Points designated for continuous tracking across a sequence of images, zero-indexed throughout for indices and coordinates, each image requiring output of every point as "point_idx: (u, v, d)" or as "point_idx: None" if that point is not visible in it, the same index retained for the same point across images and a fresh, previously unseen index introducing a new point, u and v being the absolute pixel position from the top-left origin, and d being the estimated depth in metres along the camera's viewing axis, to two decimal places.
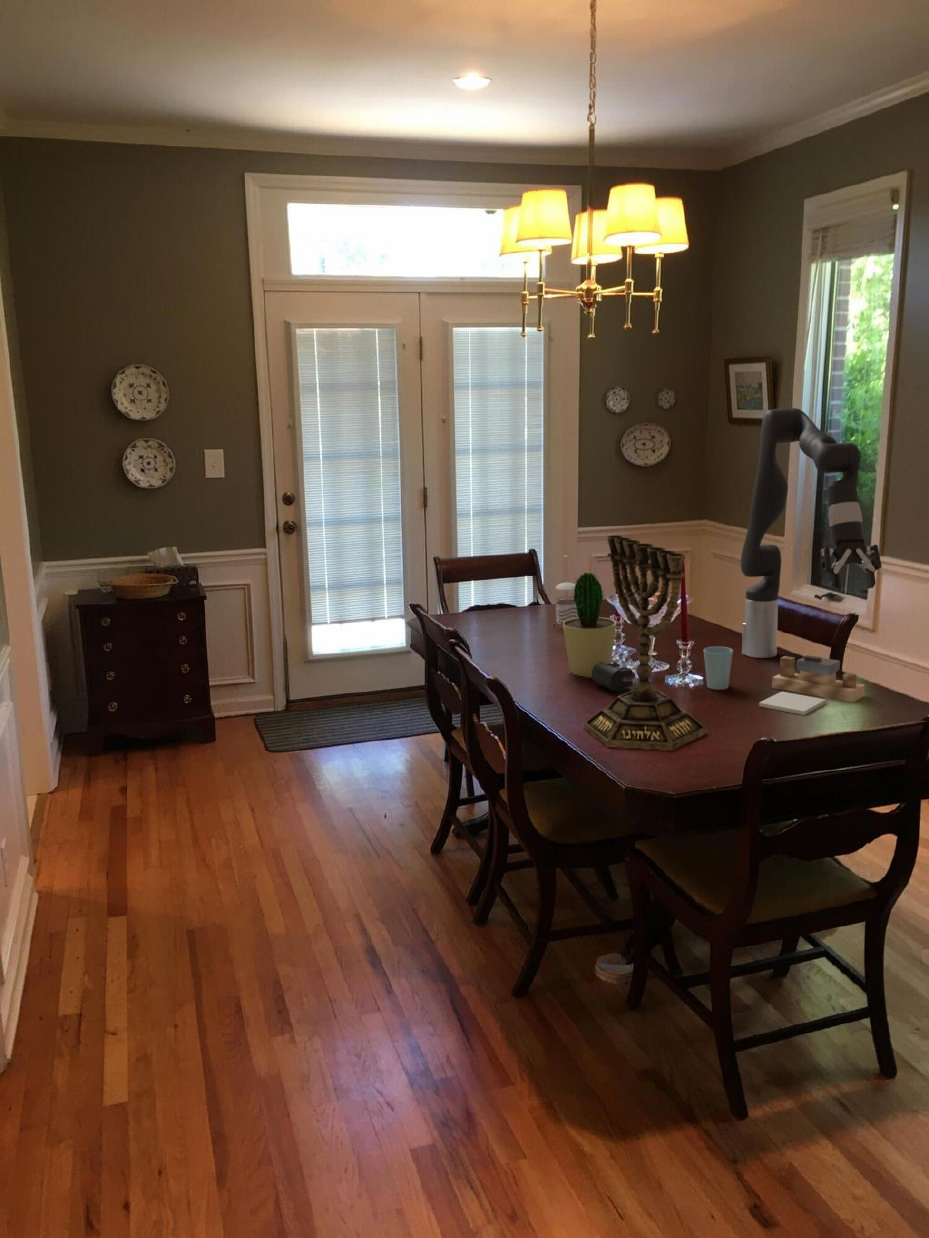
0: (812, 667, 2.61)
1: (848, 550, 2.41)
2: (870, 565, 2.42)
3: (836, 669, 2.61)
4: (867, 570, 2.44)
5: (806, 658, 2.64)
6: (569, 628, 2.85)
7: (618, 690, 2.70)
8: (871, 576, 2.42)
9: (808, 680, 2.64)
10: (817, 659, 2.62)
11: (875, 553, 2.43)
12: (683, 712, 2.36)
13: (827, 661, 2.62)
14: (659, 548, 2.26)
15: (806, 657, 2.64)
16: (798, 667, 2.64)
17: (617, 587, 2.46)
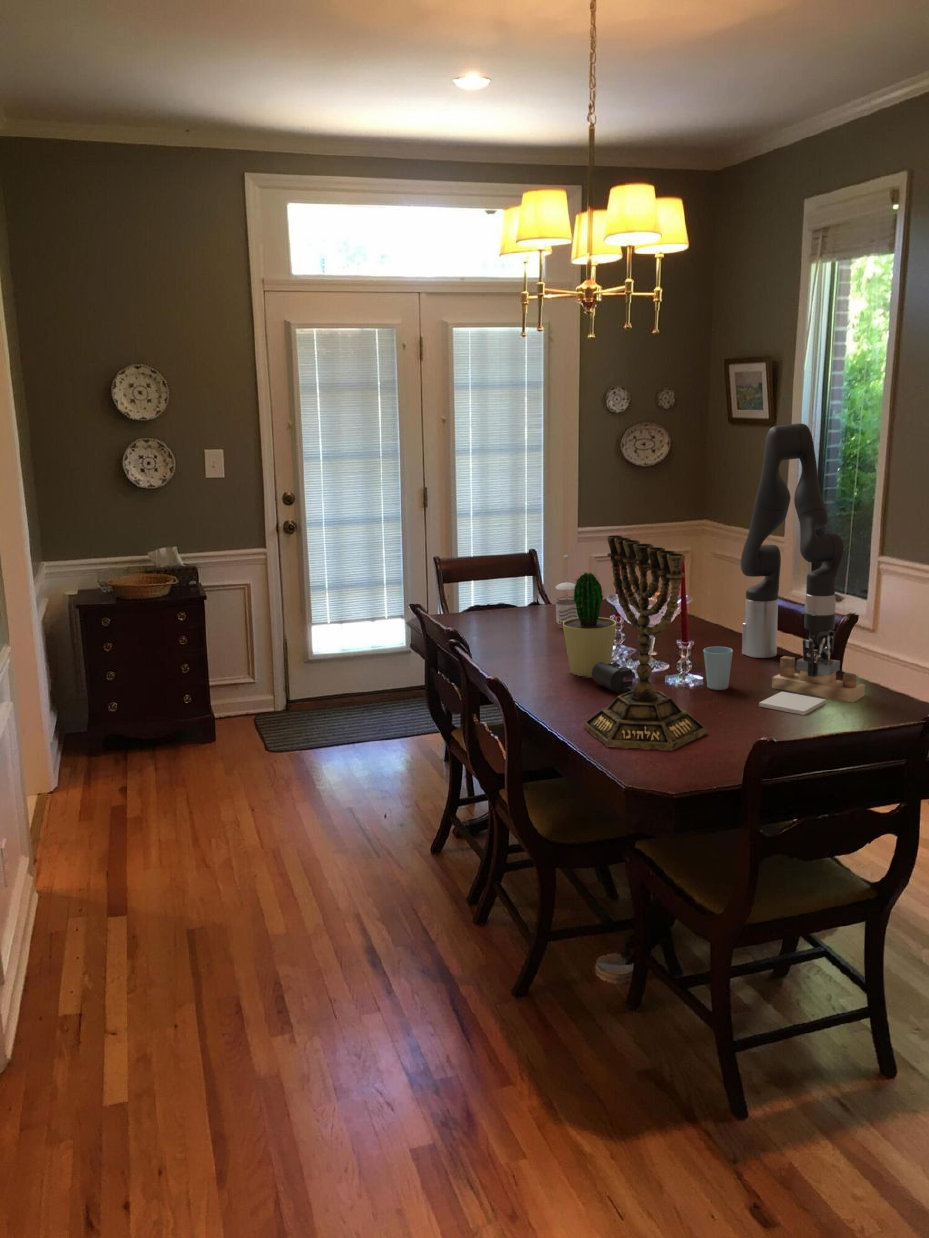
0: None
1: (824, 639, 2.59)
2: (828, 651, 2.64)
3: (836, 669, 2.61)
4: (823, 654, 2.65)
5: None
6: (569, 628, 2.85)
7: (618, 690, 2.70)
8: None
9: (808, 680, 2.64)
10: None
11: (832, 639, 2.65)
12: (683, 712, 2.36)
13: (827, 661, 2.62)
14: (659, 548, 2.26)
15: None
16: (798, 667, 2.64)
17: (617, 587, 2.46)
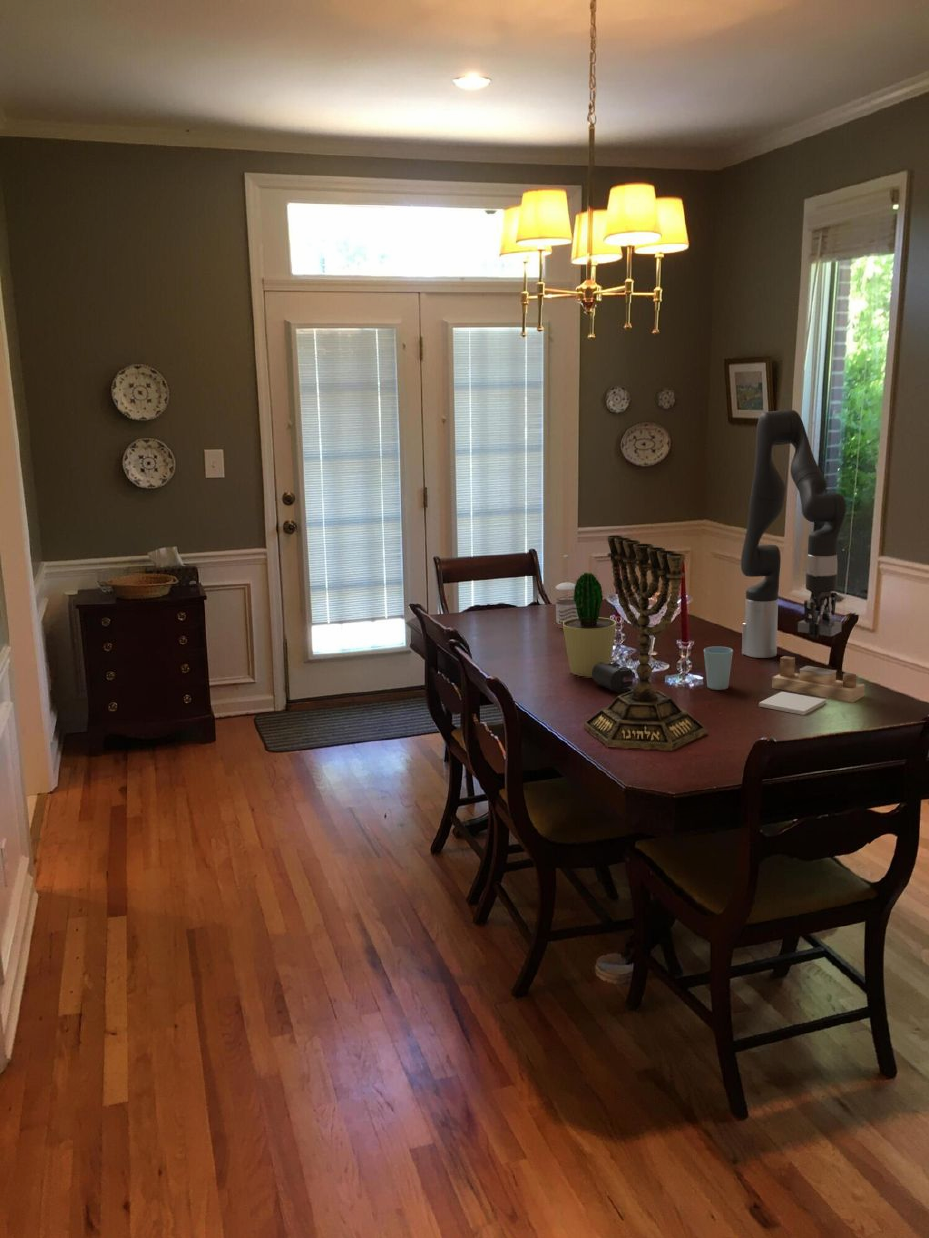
0: None
1: (825, 600, 2.57)
2: (830, 613, 2.62)
3: (838, 631, 2.59)
4: (824, 616, 2.63)
5: None
6: (569, 628, 2.85)
7: (618, 690, 2.70)
8: None
9: (808, 680, 2.64)
10: None
11: (834, 600, 2.63)
12: (683, 712, 2.36)
13: (829, 623, 2.59)
14: (659, 548, 2.26)
15: None
16: (799, 629, 2.62)
17: (617, 587, 2.46)
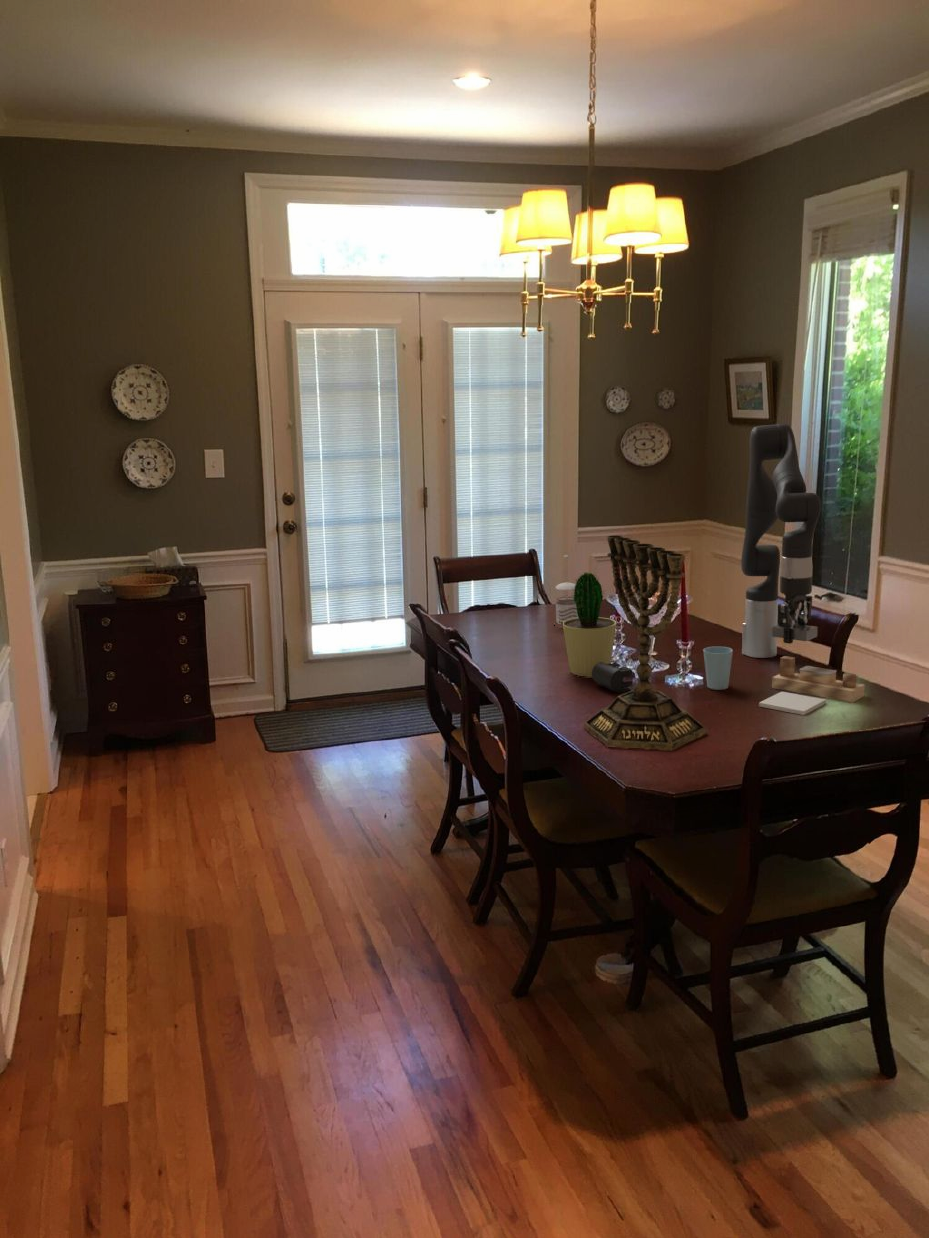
0: None
1: (800, 604, 2.47)
2: (805, 617, 2.52)
3: (813, 635, 2.48)
4: (799, 620, 2.53)
5: None
6: (569, 628, 2.85)
7: (618, 690, 2.70)
8: None
9: (808, 680, 2.64)
10: None
11: (810, 604, 2.52)
12: (683, 712, 2.36)
13: (804, 627, 2.49)
14: (659, 548, 2.26)
15: None
16: (774, 634, 2.51)
17: (617, 587, 2.46)
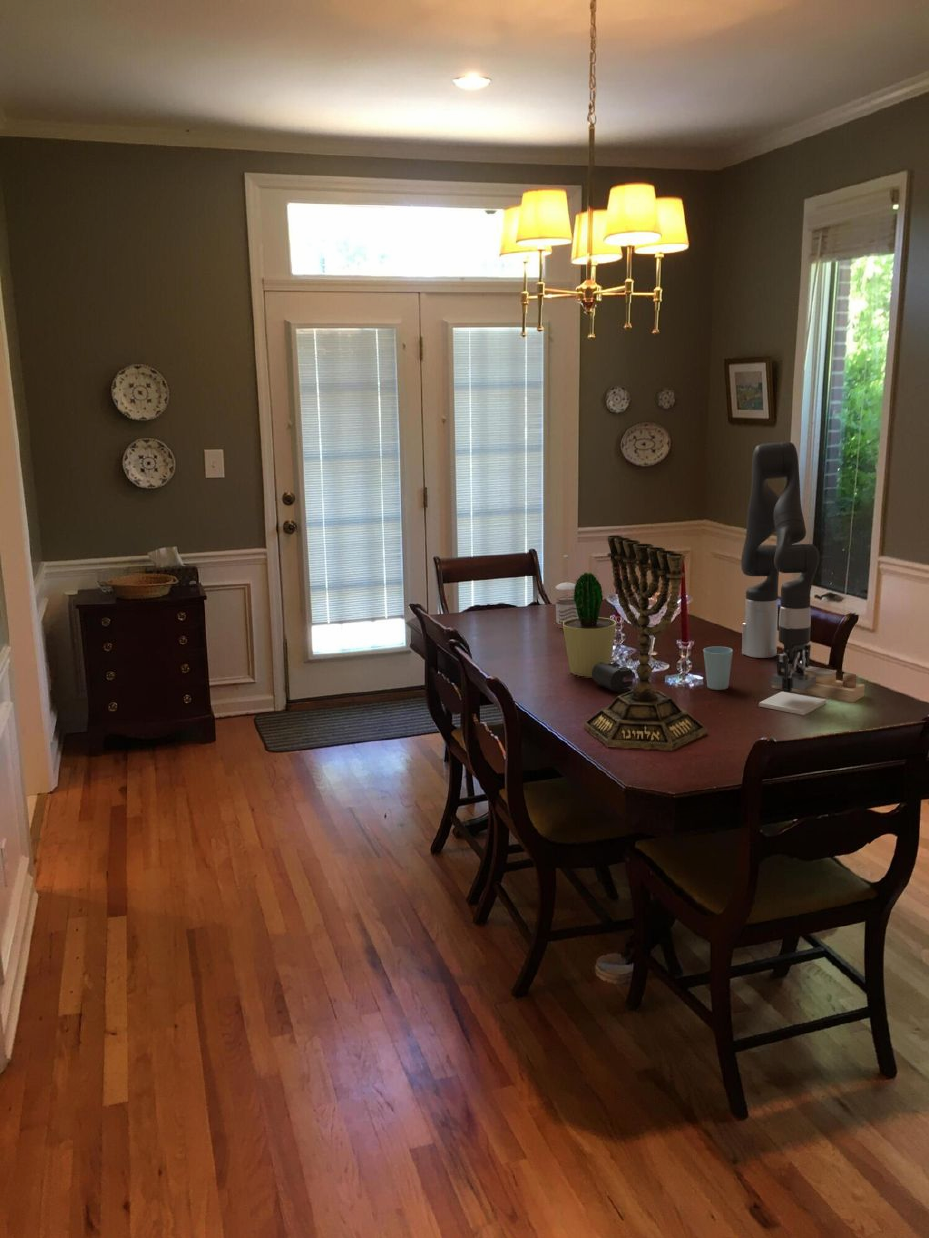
0: None
1: (798, 653, 2.49)
2: (804, 665, 2.54)
3: (812, 684, 2.51)
4: (798, 668, 2.55)
5: None
6: (569, 628, 2.85)
7: (618, 690, 2.70)
8: None
9: None
10: (792, 674, 2.52)
11: (808, 653, 2.55)
12: (683, 712, 2.36)
13: (802, 676, 2.52)
14: (659, 548, 2.26)
15: None
16: (772, 682, 2.54)
17: (617, 587, 2.46)
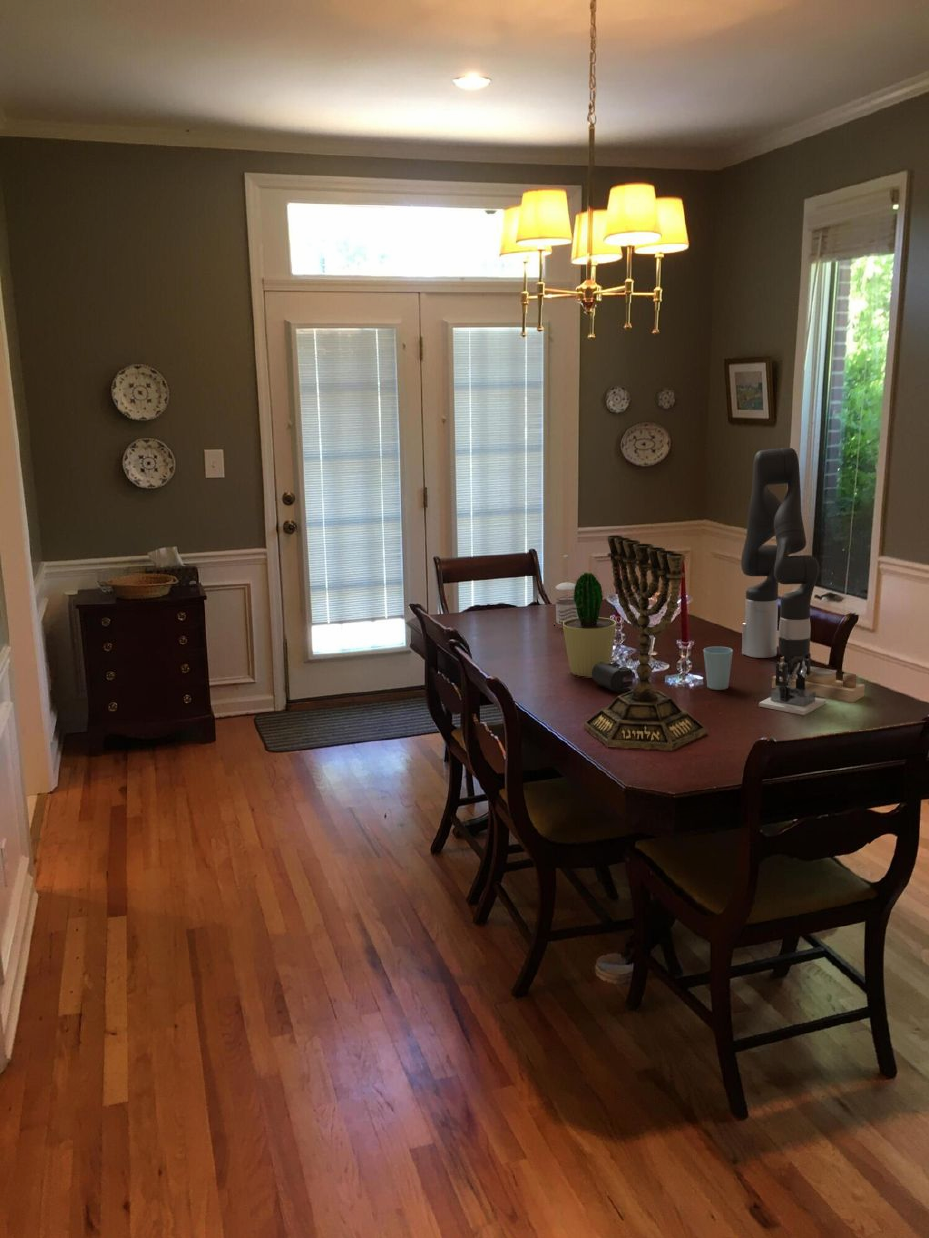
0: None
1: (798, 664, 2.50)
2: (805, 673, 2.55)
3: (811, 700, 2.52)
4: (799, 676, 2.56)
5: None
6: (569, 628, 2.85)
7: (618, 690, 2.70)
8: (804, 684, 2.56)
9: (808, 680, 2.64)
10: (792, 690, 2.53)
11: (808, 661, 2.56)
12: (683, 712, 2.36)
13: (802, 692, 2.53)
14: (659, 548, 2.26)
15: None
16: (772, 698, 2.55)
17: (617, 587, 2.46)
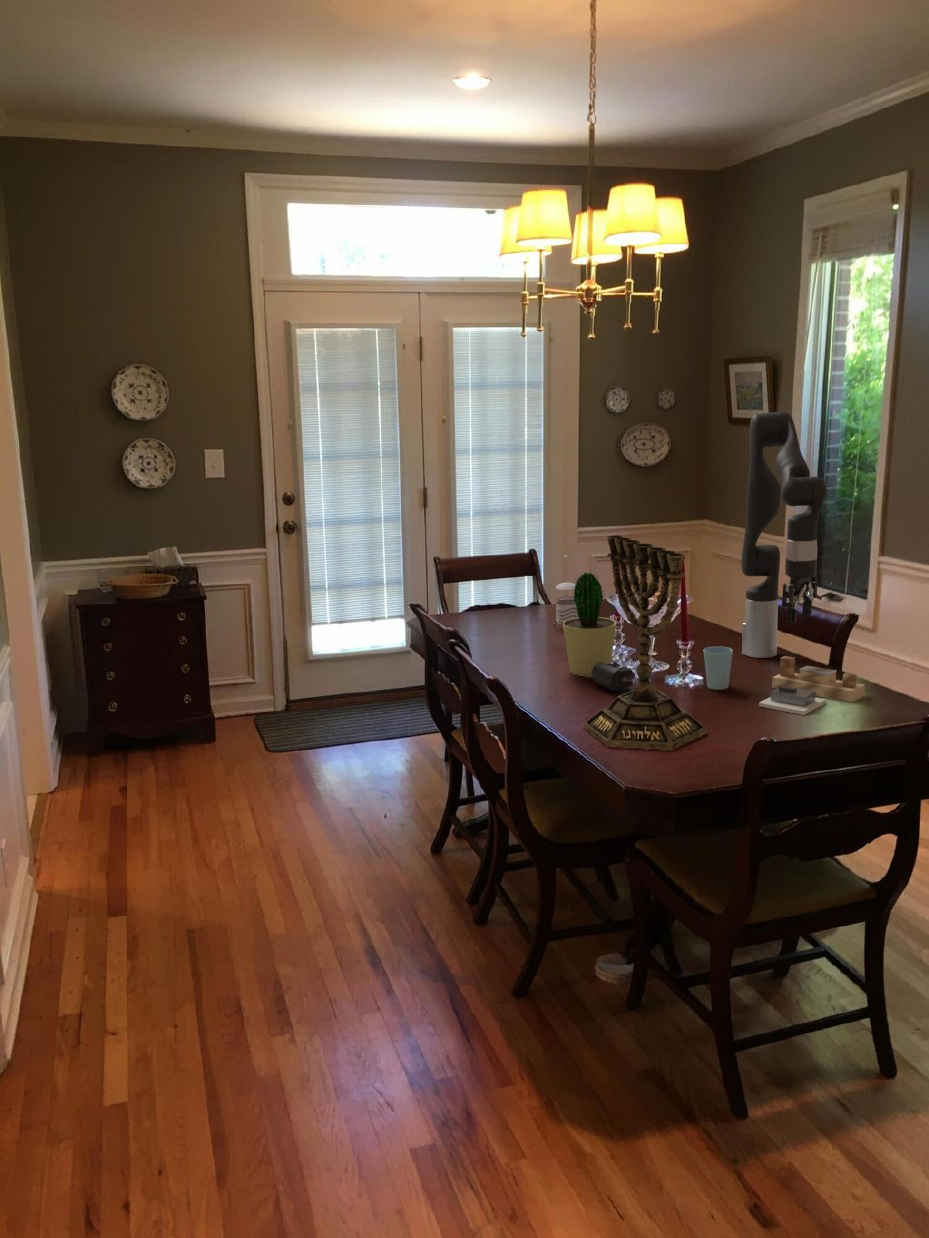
0: (787, 699, 2.52)
1: (805, 586, 2.52)
2: (812, 596, 2.57)
3: (811, 700, 2.52)
4: (806, 599, 2.58)
5: (781, 689, 2.56)
6: (569, 628, 2.85)
7: (618, 690, 2.70)
8: (811, 606, 2.58)
9: (808, 680, 2.64)
10: (792, 690, 2.53)
11: (815, 584, 2.58)
12: (683, 712, 2.36)
13: (802, 692, 2.53)
14: (659, 548, 2.26)
15: (781, 688, 2.56)
16: (772, 698, 2.55)
17: (617, 587, 2.46)
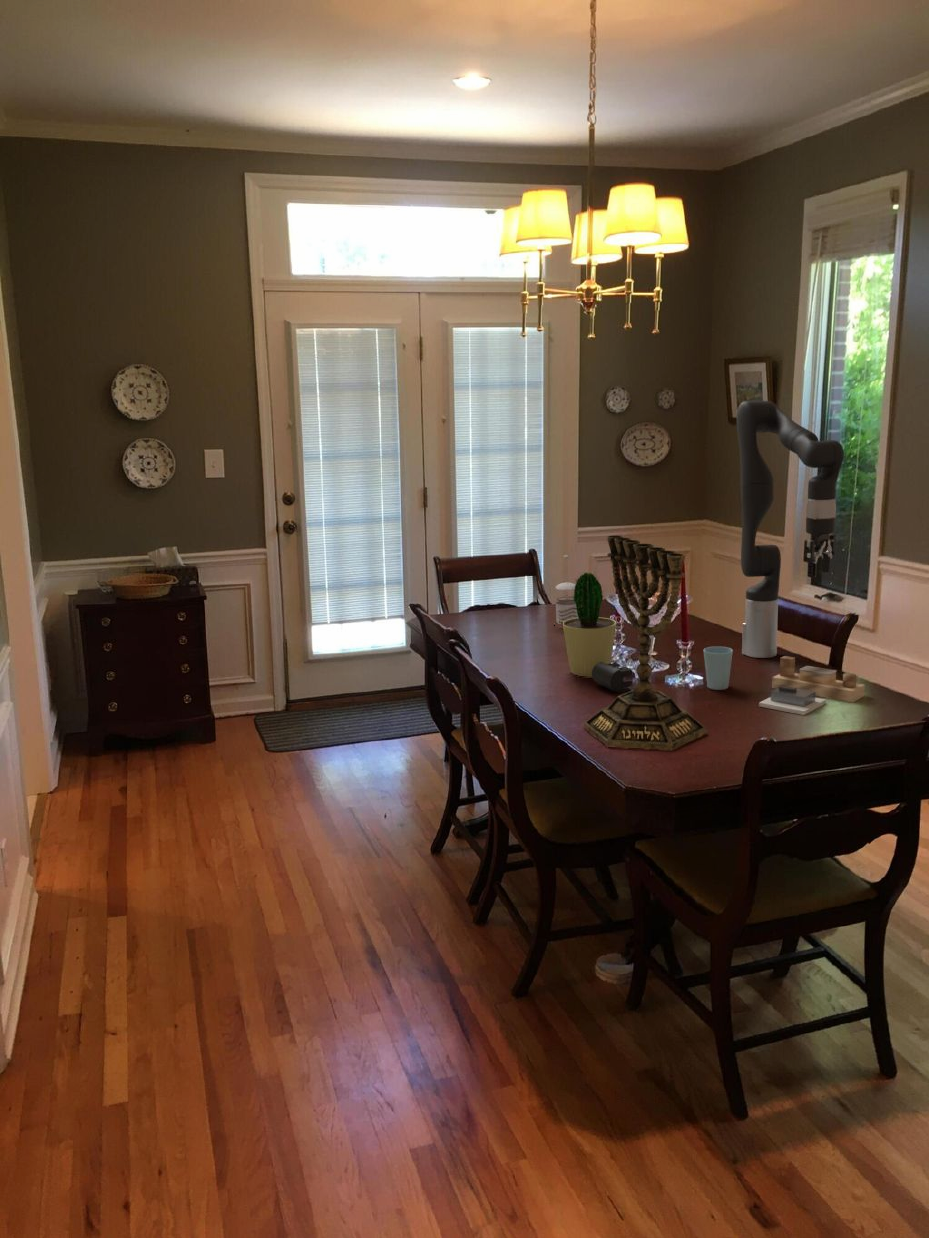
0: (787, 699, 2.52)
1: (824, 542, 2.71)
2: (830, 553, 2.76)
3: (811, 700, 2.52)
4: (825, 556, 2.77)
5: (781, 689, 2.56)
6: (569, 628, 2.85)
7: (618, 690, 2.70)
8: (829, 563, 2.77)
9: (808, 680, 2.64)
10: (792, 690, 2.53)
11: (833, 542, 2.77)
12: (683, 712, 2.36)
13: (802, 692, 2.53)
14: (659, 548, 2.26)
15: (781, 688, 2.56)
16: (772, 698, 2.55)
17: (617, 587, 2.46)
